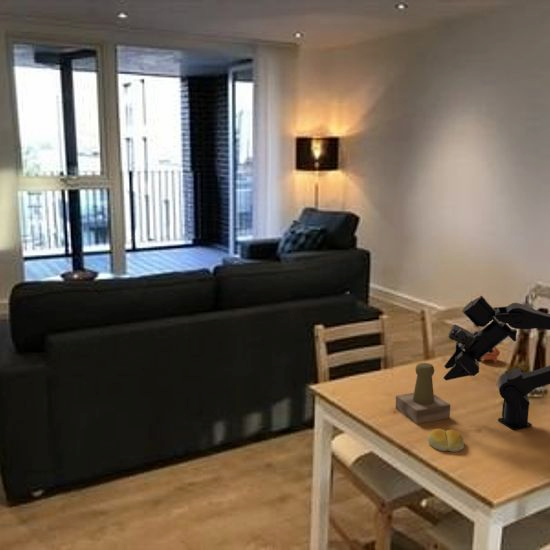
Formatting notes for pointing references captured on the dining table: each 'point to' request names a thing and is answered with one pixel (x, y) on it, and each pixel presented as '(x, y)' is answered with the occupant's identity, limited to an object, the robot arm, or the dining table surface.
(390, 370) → the dining table surface
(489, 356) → the pot
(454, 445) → the bread roll
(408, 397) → the walnut block
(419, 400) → the cork
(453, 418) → the dining table surface
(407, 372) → the dining table surface
